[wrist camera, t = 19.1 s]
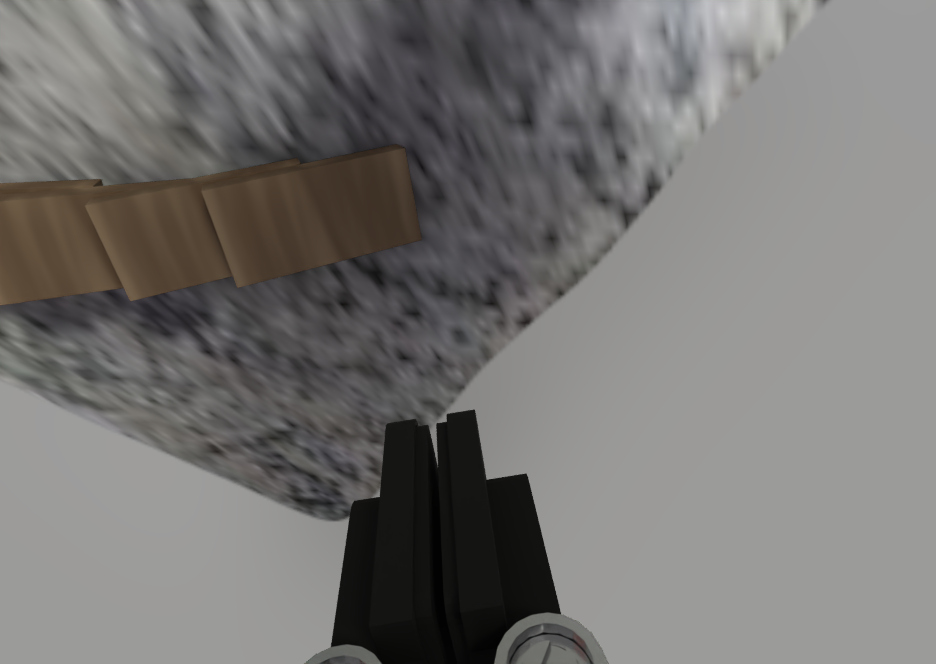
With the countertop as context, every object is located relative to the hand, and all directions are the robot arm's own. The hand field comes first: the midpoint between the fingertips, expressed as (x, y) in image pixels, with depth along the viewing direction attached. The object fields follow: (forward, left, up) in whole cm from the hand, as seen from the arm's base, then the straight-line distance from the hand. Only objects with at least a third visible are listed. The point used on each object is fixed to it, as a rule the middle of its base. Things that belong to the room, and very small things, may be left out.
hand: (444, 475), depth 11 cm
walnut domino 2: (+6, +1, -22) cm, 23 cm away
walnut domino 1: (+12, +1, -22) cm, 26 cm away
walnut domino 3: (+1, 0, -22) cm, 22 cm away
